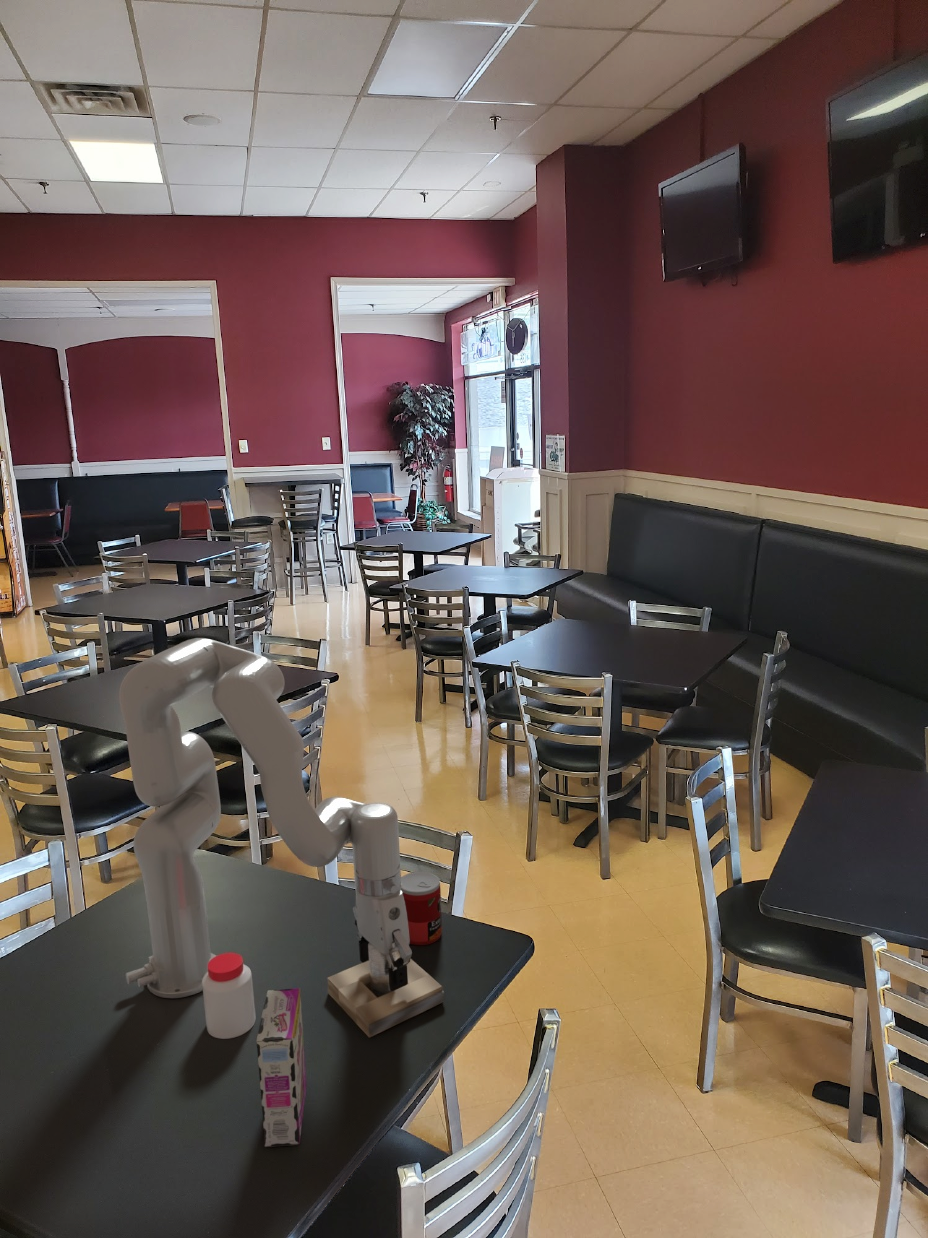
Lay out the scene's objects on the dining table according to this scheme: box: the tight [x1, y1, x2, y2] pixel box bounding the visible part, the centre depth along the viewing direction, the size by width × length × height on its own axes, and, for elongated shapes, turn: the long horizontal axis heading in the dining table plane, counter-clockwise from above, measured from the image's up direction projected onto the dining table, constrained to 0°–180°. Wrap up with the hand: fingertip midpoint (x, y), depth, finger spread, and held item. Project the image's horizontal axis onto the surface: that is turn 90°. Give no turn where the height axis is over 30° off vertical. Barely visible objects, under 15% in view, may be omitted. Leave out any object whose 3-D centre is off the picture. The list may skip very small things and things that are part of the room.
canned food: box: [400, 871, 443, 946], centre depth 165 cm, size 8×8×11 cm
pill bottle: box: [202, 952, 257, 1040], centre depth 142 cm, size 8×8×11 cm
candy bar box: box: [256, 987, 308, 1148], centre depth 121 cm, size 11×5×16 cm, turn 5°
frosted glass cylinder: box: [368, 942, 396, 998], centre depth 147 cm, size 4×4×10 cm
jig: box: [327, 951, 446, 1038], centre depth 147 cm, size 14×15×3 cm
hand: (383, 973), depth 147 cm, fingers open, 9 cm apart
